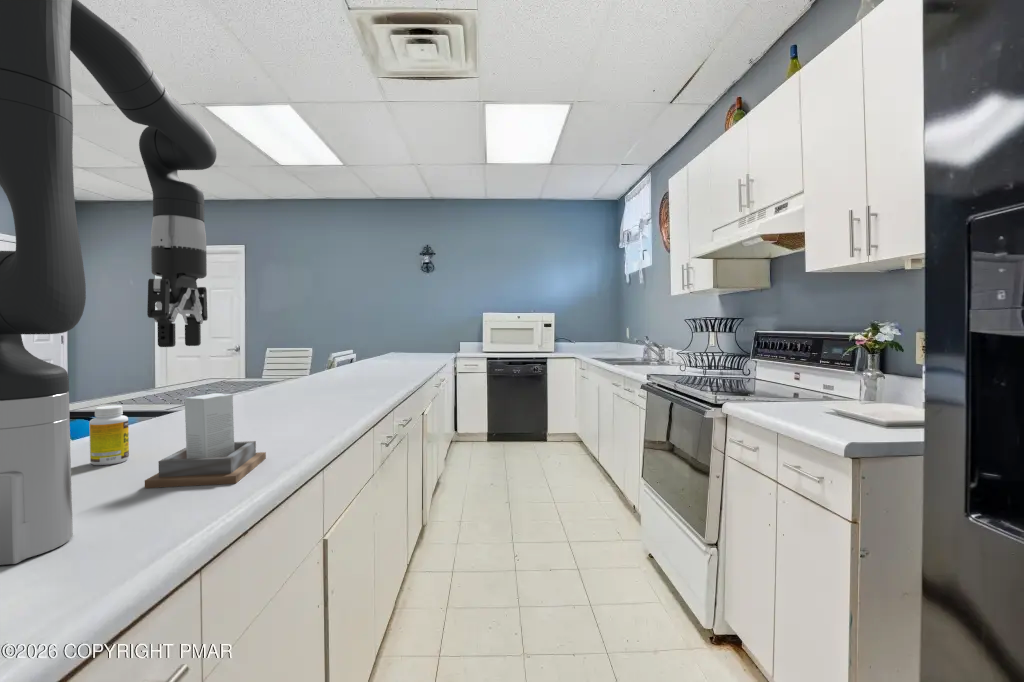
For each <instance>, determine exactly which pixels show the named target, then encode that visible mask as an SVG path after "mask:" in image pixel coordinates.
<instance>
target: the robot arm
mask: <svg viewBox="0 0 1024 682" xmlns="http://www.w3.org/2000/svg"><path fill="white" fill-rule="evenodd" d="M71 52H72V54H73V55H74V56H75V57H76V58H77V59H78V60H79V61H80V63H81V64H82V65H83V66H84V67H85V69H86V70H87V71H88V72H89V73H90V74H91V76H92V77H93V78H94V79H95V81H96V82H97V83H98V84H99V86H100V87H101V88H102V89H103V91H104V92H105V93H106V95H108V97H109V98H110V99H111V101H112V102H113V103H114V104H115V106H116V107H117V108H118V109H119V110H120V111H121V113H122V114H123V115H124V117H126V118H127V119H128V120H130V121H131V122H133V123H136V124H139V125H143V126H146V127H145V128H144V129H143V130H142V132H141V134H140V136H139V139H138V140H139V141H138V147H139V153H140V156H141V159H142V163H143V165H144V167H145V171H146V174H147V178H148V182H149V184H150V187H151V191H152V192H151V193H152V224H151V229H150V231H151V232H150V233H151V235H150V241H151V243H150V245H151V247H150V248H151V249H150V250H151V251H150V252H151V253H150V255H151V261H150V263H151V273H152V275H154V276H156V277H159V278H149V279H148V280H147V318H148V319H153V320H154V322H155V323H157V346H158V347H160V348H173V347H175V346H176V323H175V322H176V319H177V317H178V314H180V315H182V318H183V321H184V323H185V324H184V344H185V346H187V347H199V346H200V345H201V343H202V341H201V340H202V339H201V338H202V336H201V334H202V333H201V332H202V331H201V330H202V329H201V328H202V327H201V326H202V325H203V322H204V321H208V318H209V317H208V294H207V293H208V292H207V291H208V290H207V287H206V286H198V283H197V280H198V279H199V280H200V279H204V278H206V277H207V273H208V271H207V266H208V265H207V263H208V262H207V234H206V227H205V195H204V192H203V190H202V189H201V188H200V187H198V186H196V185H195V184H192V183H189V182H184V181H181V180H180V178H179V175H178V171H202V170H203V171H204V170H207V169H210V168H211V167H212V166H213V165H214V164H215V162H216V159H217V148H216V143H215V141H214V140H213V137H212V136H211V134H210V132H209V131H208V130H207V129H206V128H205V126H204V125H203V124H202V123H201V122H200V121H199V120H198V119H197V118H196V117H195V116H194V115H192V113H191V112H189V111H188V109H187V108H185V107H184V106H183V105H182V104H181V103H180V102H179V101H177V100H176V99H175V98H174V97H173V96H172V95H171V94H170V93H169V92H168V90H167V89H166V88H165V86H164V84H163V83H162V81H161V80H160V78H159V77H158V75H157V74H156V73H155V71H154V70H153V68H152V66H150V64H149V62H148V61H147V60H146V58H145V57H144V56H143V55H142V53H141V52H140V50H138V49H137V48H136V47H135V45H133V44H132V43H131V42H130V41H129V39H127V38H126V37H125V36H123V35H122V34H121V32H119V31H117V30H116V29H115V28H114V27H112V26H111V25H110V24H108V23H107V22H106V21H105V20H103V18H101V17H100V16H99V15H98V14H96V13H94V12H93V11H91V10H90V8H88V7H87V6H85V5H84V4H83V3H82V2H81V1H80V0H0V187H1V189H2V190H3V192H4V194H5V195H6V197H7V200H8V202H9V206H10V208H11V212H12V217H13V222H14V223H13V224H14V232H15V250H0V566H4V565H14V564H18V563H20V562H22V561H25V560H26V559H29V558H31V557H36V556H37V555H41V554H44V553H47V552H49V551H53V550H55V549H56V548H58V547H61V546H62V545H65V544H66V543H68V542H69V541H70V540H71V539H72V538H73V535H74V533H73V532H74V531H73V528H74V527H73V501H72V500H73V497H72V496H73V495H72V494H73V491H72V459H71V457H72V456H71V431H70V430H71V426H70V424H71V423H70V422H71V421H70V392H69V390H70V384H69V383H70V381H69V380H70V379H69V373H68V371H67V370H66V369H65V368H64V367H62V366H60V365H57V364H54V363H51V362H48V361H46V360H42V359H41V358H38V357H37V356H35V355H33V354H32V353H31V352H29V350H27V348H25V345H24V341H23V338H22V335H58V334H64V333H67V332H68V331H71V330H72V329H74V328H75V327H76V326H77V325H78V324H79V322H80V320H81V318H82V317H83V314H84V310H85V306H86V298H87V295H86V289H87V288H86V275H85V268H84V260H83V255H82V254H83V253H82V247H81V240H80V233H79V228H78V227H79V226H78V222H77V221H78V219H77V211H76V200H75V198H76V197H75V188H74V187H75V186H74V162H73V155H74V154H73V142H74V141H73V136H74V135H73V134H74V133H73V132H74V116H73V114H74V113H73V91H72V79H71V77H72V76H71ZM160 277H161V278H160Z"/></svg>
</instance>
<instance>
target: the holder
mask: <svg viewBox="0 0 1024 682" xmlns="http://www.w3.org/2000/svg"><path fill="white" fill-rule="evenodd" d="M256 442H257V441H256V440H252V441H251V440H249V441H248V440H247V441H234V452H233V453H232V454H230V455H228V456H227V457H212V458H189V459H187V451H186V447H184V448H182V449H180V450H178V451H176V452H175V453H172V454H169V455H168V456H166V457H164V458H162V459H161V460H159V461H158V472H157V473H156V474H153V475H152V476H150V477H148V478H147V479H145V480H144V489H153V488H154V489H155V488H157V489H158V488H174V487H175V488H176V487H191V486H210V485H211V486H212V485H231V484H232V485H233V484H237V483H238V482H239V481H240V480H241V479H243V478H244V477H245V476H247V475H248V474H249V473H250V472H252V471H253V470H254V469H255V468H256V467H258V466H259V465H260V464H261V463H262V462H263V461H265V460H267V452H266V451H265V452H263V451H262V452H261V451H260V452H257V444H256Z"/></svg>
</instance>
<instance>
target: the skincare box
mask: <svg viewBox="0 0 1024 682" xmlns="http://www.w3.org/2000/svg"><path fill="white" fill-rule="evenodd" d="M233 395H234V394H232V393H221V392H220V393H219V392H218V393H217V392H216V393H215V392H213V393H209V394H208V393H207V394H203V395H202V394H201V395H196V396H190V397H189V396H188V397H184V415H185V418H184V419H185V442H186V443H185V448H186V451H187V459H189V458H212V457H227V456H228V455H230V454H232V453H233V452H234V442H235V431H234V430H235V427H234V423H235V422H234V398H233V397H234V396H233Z"/></svg>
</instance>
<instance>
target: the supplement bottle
mask: <svg viewBox="0 0 1024 682" xmlns="http://www.w3.org/2000/svg"><path fill="white" fill-rule="evenodd" d="M123 409H124V408H123V405H118V404H117V405H103V406H98V407H95V408H94V418H92V419H90V420H89V424H88V426H89V427H88V428H89V431H88V432H89V460H90V464H91V465H94V466H108V465H109V466H111V465H116V464H120V463H124V462H126V461H127V460H128V459H129V457H130V446H129V445H130V443H129V441H130V440H129V439H130V438H129V434H130V432H129V417H128V416H127V415H123V414H124V413H123V412H124V410H123Z"/></svg>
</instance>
